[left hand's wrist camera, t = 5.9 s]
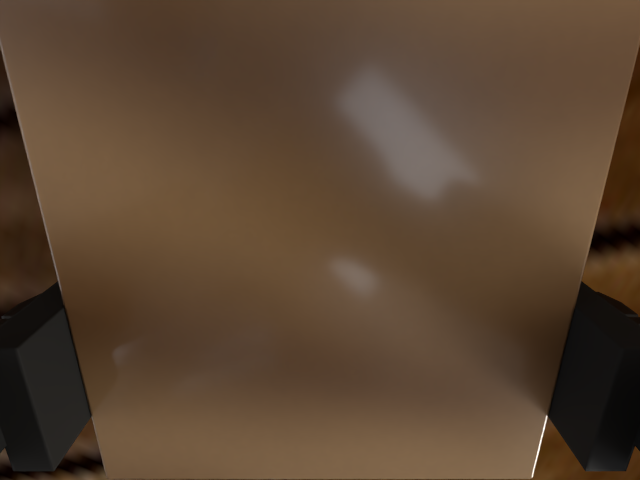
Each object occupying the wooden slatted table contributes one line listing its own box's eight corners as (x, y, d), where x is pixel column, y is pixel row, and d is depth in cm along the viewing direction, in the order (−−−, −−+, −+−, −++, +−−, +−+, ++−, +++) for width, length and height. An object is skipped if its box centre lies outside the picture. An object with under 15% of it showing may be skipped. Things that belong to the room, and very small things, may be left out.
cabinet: (141, -292, 12) (-338, -1295, 3) (497, -292, 12) (974, -1292, 3) (205, 295, 18) (105, 480, 10) (433, 295, 18) (533, 480, 10)
